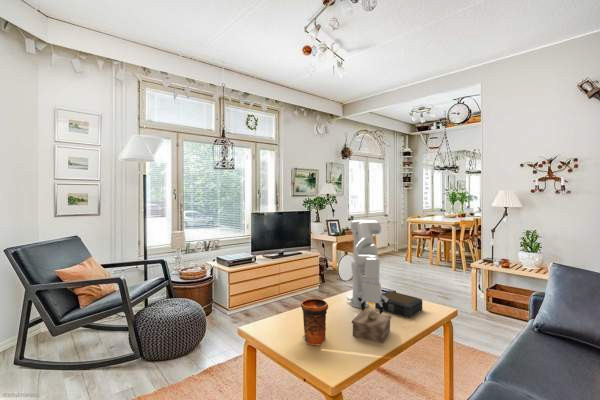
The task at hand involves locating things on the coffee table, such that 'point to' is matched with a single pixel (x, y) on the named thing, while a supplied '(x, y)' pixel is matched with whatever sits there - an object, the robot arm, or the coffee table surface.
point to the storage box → (371, 332)
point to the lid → (371, 319)
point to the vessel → (314, 320)
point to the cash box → (401, 304)
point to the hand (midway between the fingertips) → (372, 311)
